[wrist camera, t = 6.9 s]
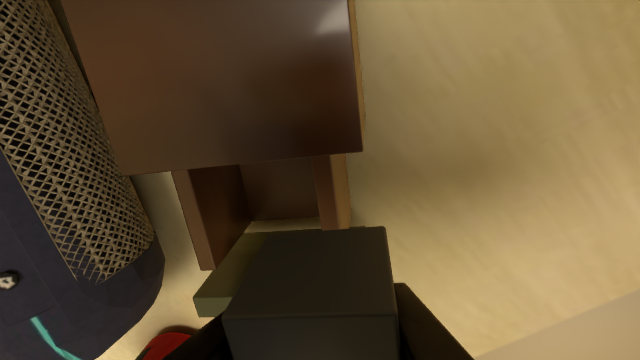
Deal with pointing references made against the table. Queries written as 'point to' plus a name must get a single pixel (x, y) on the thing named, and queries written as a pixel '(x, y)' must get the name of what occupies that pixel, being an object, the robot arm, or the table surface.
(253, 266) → the block
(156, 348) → the beverage can
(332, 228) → the drawer
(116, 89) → the cabinet
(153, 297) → the portable speaker
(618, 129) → the table surface
